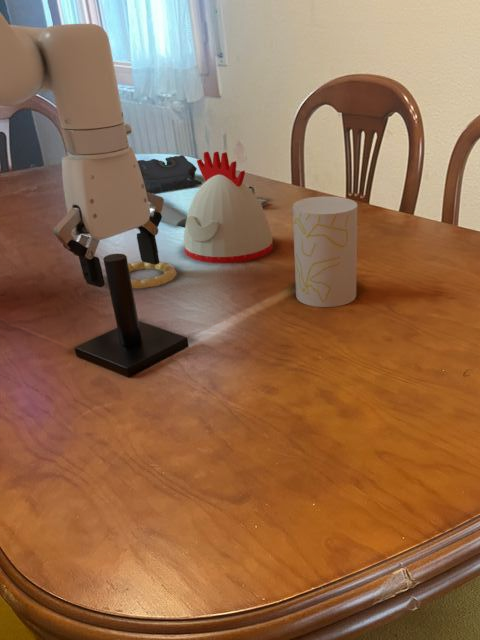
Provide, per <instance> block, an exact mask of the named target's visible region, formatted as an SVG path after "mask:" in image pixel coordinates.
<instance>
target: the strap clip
mask: <svg viewBox="0 0 480 640" xmlns="http://www.w3.org/2000/svg"><path fill="white" fill-rule="evenodd" d="M246 186H247V187H248V188H249V189H250V190H251V191H252V192H253V193H254V195H255V196H256V192H255V187H254V186H249V185H246ZM257 199H258V200H259V202H261V204H262V208H263V207H265V206H266V205H267V203H268V201H267V199H263V198H257Z"/></svg>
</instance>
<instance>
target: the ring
mask: <svg viewBox="0 0 480 640" xmlns="http://www.w3.org/2000/svg"><path fill="white" fill-rule="evenodd" d="M128 267H129V273H131V272H134V271H140V270H157V271H162V272H163V273H162V274H160V275H158V276H156V277H151V278H150V277H149V278H145V279H131V284H132V289H147V288H153V287H158V286H162V285H164V284H166V283H168V282H171V281H173V280H174V279H175V277H176V276H177V274H178V272H177V270H176V269H175V268H174V266H173V265H172V264H170V263H167V262H164V261H160V260H159V264H157V265H154V264H150V263H146V262H143V261H142V260H141V261H135V262H129V263H128Z"/></svg>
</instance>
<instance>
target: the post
mask: <svg viewBox="0 0 480 640" xmlns="http://www.w3.org/2000/svg"><path fill="white" fill-rule="evenodd" d="M127 257H128V256H127V255H126V254H124V253H111V254H107V255H104V257H103V258H102V260H103V265H104V270H105V274H106V279H107V280H106V281H107V284H108V289H109V294H110V299H111V304H112V309H113V312H114V319H115V323H116V327H115V328H113V329H112V330H109V331H107V332H105V333H103V334H99V336H96V337H94V338H91V339H90V340H87V341H84V342H83V343H81V344H79V345H76V346H74V347H73V348H74V352H75V356H76V357H77V358H80V359H81V360H84V361H87V362H89V363H91V364H94V365H96V366H99V367H102V368H104V369H106V370H109V371H111V372H114V373H116V374H118V375H121V376H123V377H126V378H131V377H133V376H136V375H137V374H139V373H141V372H143V371H145V370H146V369H148V368H150V367H152V366H154V365H156V364H158V363H160V362H162V361H164V360H165V359H168V358H169V357H171V356H173V355H175V354H177V353H179V352H181V351H183V350H185V349H186V348H189V339H188V337H187V336H184V335H182V334H179V333H176V332H172V331H170V330H166V329H163V328H161V327H158V326H155V325H151V324H149V323H146V322H143V321H140V320H139V316H138V311H137V305H136V300H135V295H134V288H132V284H131V280H132V278H131V274H130V273H131V272H129V267H128V264H129V263H128V258H127Z"/></svg>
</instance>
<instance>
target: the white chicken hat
mask: <svg viewBox="0 0 480 640" xmlns="http://www.w3.org/2000/svg"><path fill="white" fill-rule="evenodd" d="M196 163H197V166H198V169H199V171H200V172H201V175H202V177H203V179H204V182H203V184H201V186H200V187H199V189H198V190H197V191H196V193H195V195H194V197H193V198H192V201H191V203H190V205H189V208H188V212H187V215H186V216H187V219H186V226H185V227H184V233H183V249H184V253H185V255H186V256H187V257H188V258H190V259H192V260H194V261H198V262H202V263H209V264H210V263H211V264H232V263H242V262H246V261H247V262H248V261H252V260H255V259H258V258H261V257H263V256H266V255H267V254H269V253H270V252H271V251H272V250H273V249H274V244H273V242H274V241H273V234H272V229H271V227H270V224H269V221H268V218H267V216H266V212H265V210H264V208H263V207H262V204H261V202H259V200H258V199H259V198H257V196H256V194H255V195H254V193H253V192H252V189H251V188H248V187H247V186H248V185H247V184H246V183H245V182H244V179H245V175H246V174H245V173H246V170H241V171H240V172H239V174H238V176H237V175H236V173H237V160H235V161H232V162H230V161H229V157H228V153H227V151H225V152H222V153H221V157H220V153H219V151H214V152H213V156H212V158H211V154H210V152H209V151H205V152H203V159H201V158H200V159H197V160H196Z"/></svg>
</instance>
